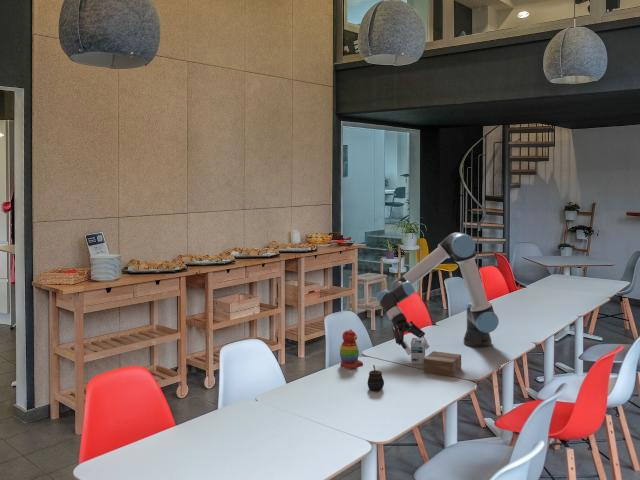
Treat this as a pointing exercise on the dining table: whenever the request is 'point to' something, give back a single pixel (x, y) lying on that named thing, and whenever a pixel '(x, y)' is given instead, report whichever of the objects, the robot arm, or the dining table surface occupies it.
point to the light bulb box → (417, 350)
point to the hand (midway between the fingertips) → (419, 350)
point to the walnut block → (442, 364)
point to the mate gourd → (375, 380)
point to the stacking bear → (349, 351)
